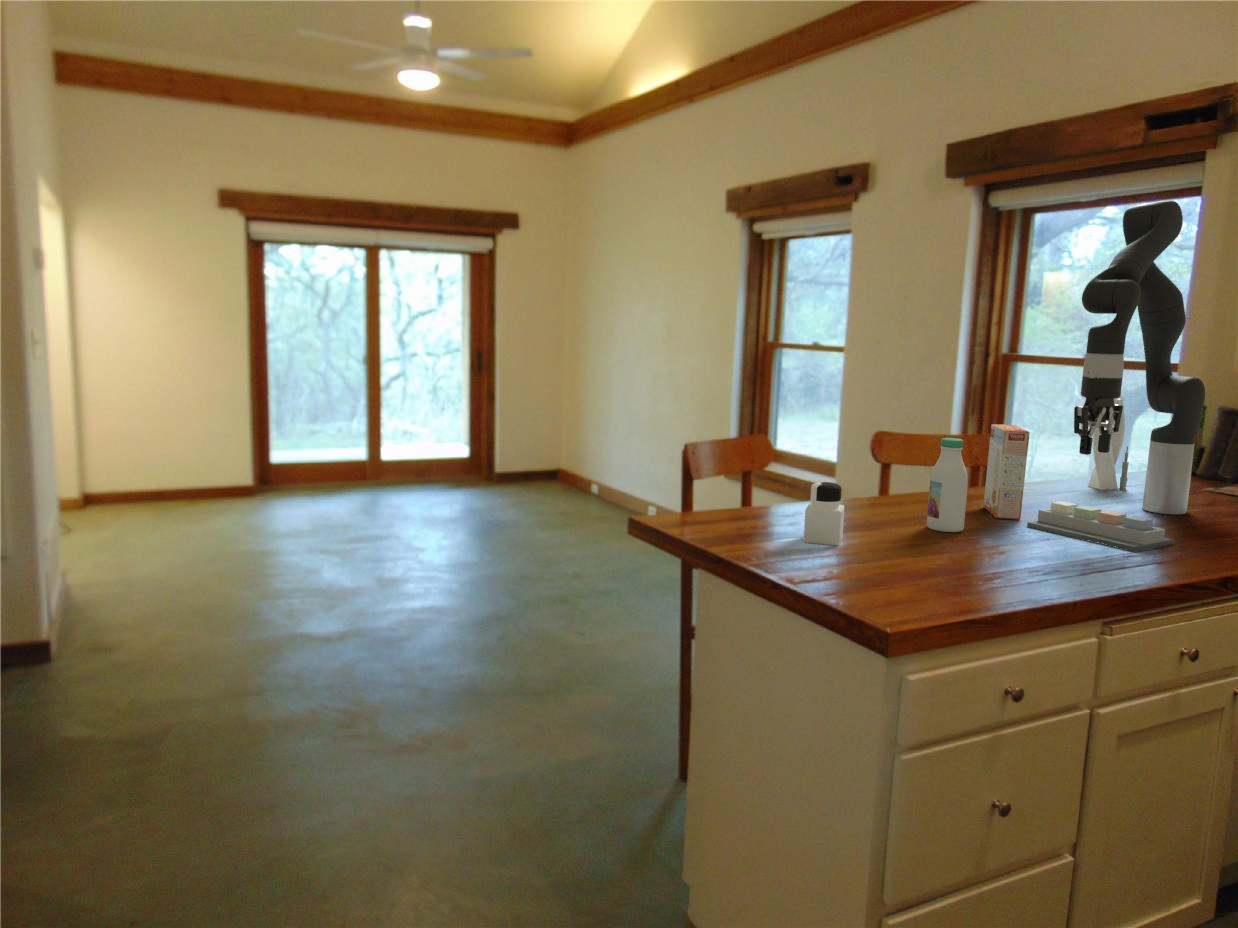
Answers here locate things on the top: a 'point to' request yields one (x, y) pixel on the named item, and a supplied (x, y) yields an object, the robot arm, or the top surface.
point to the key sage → (1086, 512)
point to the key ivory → (1063, 507)
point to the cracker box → (1006, 471)
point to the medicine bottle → (824, 515)
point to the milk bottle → (948, 489)
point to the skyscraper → (1109, 459)
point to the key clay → (1111, 517)
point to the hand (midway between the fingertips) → (1094, 453)
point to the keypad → (1100, 531)
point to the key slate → (1138, 523)
